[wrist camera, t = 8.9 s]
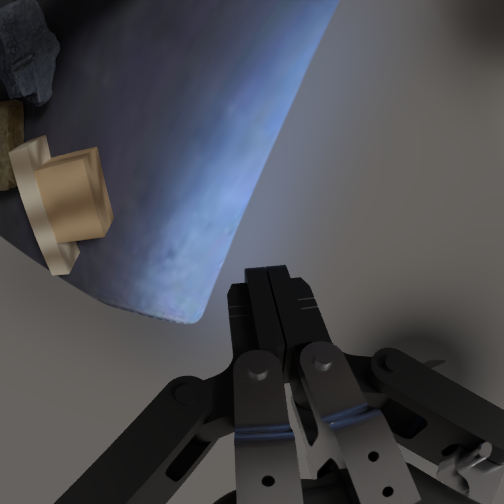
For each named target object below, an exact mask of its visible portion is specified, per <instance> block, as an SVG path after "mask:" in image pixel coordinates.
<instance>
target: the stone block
mask: <svg viewBox="0 0 504 504" xmlns="http://www.w3.org/2000/svg"><path fill="white" fill-rule="evenodd" d="M24 135H25V134H24V108H23V102H21V101H19V100H17V99H14V100H6V101H2V102H0V191H2V190H3V191H4V190H8V189H9V188H14V187H16V186H17V182H16V179H15V175H14V172H13V168H12V164H11V161H10V157H9V152H10V151H12V150H13V149H15V148H17V147H18V146H20V145H22V144H23V143H24Z"/></svg>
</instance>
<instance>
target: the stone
mask: <svg viewBox="0 0 504 504" xmlns="http://www.w3.org/2000/svg"><path fill="white" fill-rule="evenodd" d="M59 52H60V43H59V41H58V40H57V39H56V36H55V34H54V33H53V32H51V31H50V30H49V28H47V24H46V21H45V17H44V14H43V12H42V9H41V8H40V6H39V4H38V2H37V1H36V0H17V1H14V2H12V3H10V4H7V5H5V6H3V7H1V8H0V79H1V81H2V82H3V83H4V85H5V87H6V90H7V92H8V95H9V97H10V100H11V99H13V98H18V97H24V96H25V97H26V99H27V100H28V101H29V102H32V103H34V104H35V106H36V107H41V105H44V104H45V103H46V102H47V101H48V100H49V99H50V98H51V96H52V94H53V91H52V81H53V77H54V72H55V68H56V61H55V59H56V57H57V55H58V54H59Z"/></svg>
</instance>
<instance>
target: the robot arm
mask: <svg viewBox="0 0 504 504" xmlns="http://www.w3.org/2000/svg"><path fill="white" fill-rule="evenodd" d="M227 298H228V310H229V321H230V331H231V340H232V349H233V359H232V362H231V364H230V365H229V367H228V368H227V369H226V370H225V371H223V372H222V373H220V374H218V375H216V376H214V377H211V378H208V379H206V380H202V379H200V378H198V377H194V376H181V377H178V378H176V379H173V380H172V381H170V382H169V383H168V384H167V385H166V387H165V388H164V389H163V390H162V391H161V392H160V393H159V394H158V395H157V396H156V398H155V399H154V400H153V401H152V402H151V403H150V404H149V405H148V406H147V407H146V408H145V409H144V410H143V412H142V413H141V414H140V415H139V416H138V417H137V418H136V419H135V420H134V421H133V422H132V423H131V424H130V425H129V426H128V428H127V429H126V430H125V431H124V432H123V433H122V434H121V435H120V436H119V437H118V438H117V439H116V440H115V441H114V442H113V444H111V446H110V447H109V448H108V449H107V450H106V451H105V452H104V453H103V454H102V455H101V456H100V457H99V458H98V459H97V460H96V461H95V462H94V463H93V464H92V465H91V467H89V468H88V469H87V470H86V471H85V472H84V473H83V475H82V476H81V477H80V478H79V479H78V480H77V481H76V482H75V483H74V484H73V485H72V486H71V487H70V488H69V489H68V490H67V491H66V492H65V493H64V494H63V495H62V496H61V497H60V498H59V499H58V500H57V501H56V502H55V503H54V504H166V503H167V502H168V500H169V499H170V498H171V497H172V496H173V494H174V493H175V492H176V491H177V490H178V489H179V488H180V486H181V485H182V484H183V483H184V482H185V480H186V479H187V478H188V477H189V476H190V474H191V473H192V472H193V471H194V469H195V468H196V467H197V466H198V464H199V463H200V462H201V461H202V460H203V458H204V457H205V456H206V454H207V453H208V452H209V451H210V449H211V448H212V447H213V445H214V444H215V443H216V441H217V440H218V439H219V438H221V437H223V436H226V435H228V434H230V433H233V432H235V434H234V447H235V472H236V490H234V491H232V492H230V493H228V494H226V495H224V496H223V497H221V498H220V499H218V500H217V501H216V502H214V503H213V504H491V502H492V500H493V498H494V495H495V493H496V490H497V488H498V486H499V483H500V480H501V478H502V475H503V473H504V410H503V409H501V408H499V407H497V406H496V405H494V404H492V403H490V402H489V401H487V400H485V399H483V398H481V397H480V396H478V395H476V394H474V393H473V392H471V391H469V390H468V389H466V388H464V387H462V386H460V385H459V384H457V383H455V382H453V381H452V380H450V379H448V378H447V377H445V376H443V375H441V374H440V373H438V372H436V371H435V370H433V369H431V368H429V367H428V366H426V365H424V364H422V363H421V362H419V361H417V360H416V359H414V358H412V357H410V356H409V355H407V354H405V353H403V352H402V351H400V350H398V349H395V348H383V349H380V350H378V351H377V352H376V353H375V354H374V356H373V357H366V356H355V355H350V354H346V353H344V352H342V351H341V349H340V348H339V347H337V346H336V345H334V344H333V343H332V341H331V339H330V337H329V334H328V331H327V329H326V326H325V324H324V321H323V318H322V316H321V313H320V311H319V308H318V307H317V303H316V301H315V299H314V296H313V293H312V290H311V288H310V286H309V285H308V284H307V283H306V282H305V281H304V280H303V279H302V278H301V277H299V278H290V275H289V272H288V270H287V267H286V265H280V266H268V267H259V268H258V267H257V268H247V269H245V283H237V284H232V285H231V287H230V289H229V291H228V294H227ZM285 383H290V386H291V390H292V396H291V403H292V407H293V410H294V413H295V416H296V419H297V422H298V425H299V428H300V431H301V434H302V437H303V440H304V443H305V447H306V451H307V463H308V467H309V470H310V473H311V476H312V479H300V472H299V465H298V457H297V451H296V450H297V449H296V443H295V437H294V433H293V430H292V429H291V427H290V423H289V416H288V409H287V401H286V394H285V387H284V384H285ZM396 442H397V443H398V444H400V445H402V446H404V447H405V448H407V449H409V450H411V451H412V452H414V453H416V454H417V455H419V456H421V457H423V458H425V459H426V460H428V461H430V462H432V463H434V464H436V465H438V466H439V467H438V471H437V474H436V476H437V479H438V480H440V481H443V482H444V483H445V484H446V485H445V484H443V483H442V482H440V481H438V480H437V479H435V478H433V477H431V476H430V475H428V474H426V473H425V472H423V471H421V470H420V469H418V468H416V467H414V466H413V465H411V464H409V463H407V462H405V460H404V458H403V456H402V454H401V451H400V449H399V447H398V445H397V443H396Z"/></svg>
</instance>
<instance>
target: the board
mask: <svg viewBox="0 0 504 504" xmlns="http://www.w3.org/2000/svg"><path fill="white" fill-rule="evenodd" d="M9 157H10V161H11V164H12V168H13V172H14V175H15V179H16V182H17V186H18V189H19V192H20V195H21V198H22V201H23V204H24V207H25V210H26V213H27V216H28V218H29V221H30V224H31V227H32V229H33V232H34V234H35V237H36V239H37V242H38V244H39V247H40V249H41V251H42V254H43V256H44V258H45V261H46V263H47V265H48V267H49V269H50V272H51V274H52V275H63V274H69V273H70V271H71V269H72V267H73V265H74V263H75V261H76V259H77V257H78V255H79V253H80V251H79V248H78V246H77V243H76V241H72V242H65V243H58V242H57V239H56V237H55V234H54V231H53V229H52V226H51V223H50V220H49V218H48V215H47V212H46V209H45V206H44V203H43V200H42V197H41V193H40V190H39V187H38V184H37V180H36V177H35V173H34V171H35V170H37V169H38V168H39V167H40V166H42V165H43V164H44V163H45V162H47V161H48V160H49V159H51V157H50V152H49V148H48V143H47V138H46V135H43V136H40V137H37V138H34V139H31V140H28V141H27V142H25V143H23V144H22V145H20V146H18V147H17V148H15V149H13V150H12V151H10V152H9Z"/></svg>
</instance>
